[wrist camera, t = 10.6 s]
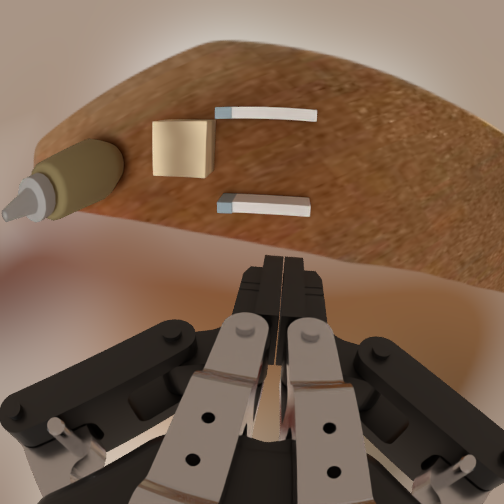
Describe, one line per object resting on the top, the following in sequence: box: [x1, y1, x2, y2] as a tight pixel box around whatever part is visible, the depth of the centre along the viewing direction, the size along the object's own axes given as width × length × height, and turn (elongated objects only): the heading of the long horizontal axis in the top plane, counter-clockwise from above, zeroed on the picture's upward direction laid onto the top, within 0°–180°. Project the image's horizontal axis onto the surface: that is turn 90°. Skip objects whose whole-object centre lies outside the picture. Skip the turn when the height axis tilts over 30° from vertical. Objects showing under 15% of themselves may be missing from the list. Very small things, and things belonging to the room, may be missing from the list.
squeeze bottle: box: [2, 139, 124, 222], centre depth 25 cm, size 8×8×18 cm
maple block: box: [153, 119, 216, 178], centre depth 29 cm, size 6×6×4 cm
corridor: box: [215, 107, 317, 217], centre depth 29 cm, size 10×11×3 cm
